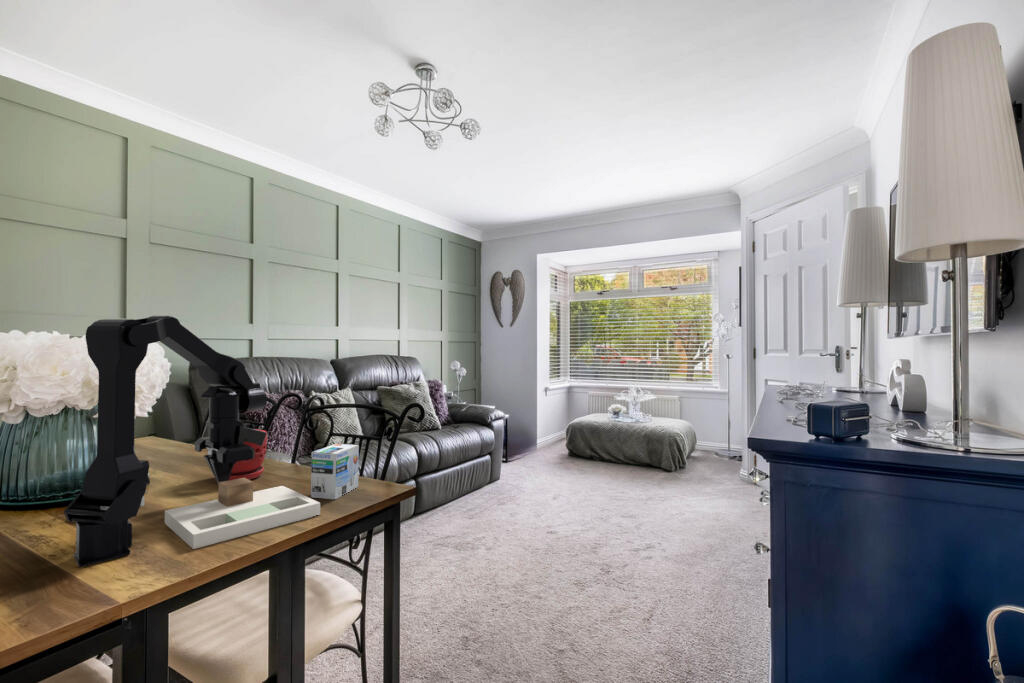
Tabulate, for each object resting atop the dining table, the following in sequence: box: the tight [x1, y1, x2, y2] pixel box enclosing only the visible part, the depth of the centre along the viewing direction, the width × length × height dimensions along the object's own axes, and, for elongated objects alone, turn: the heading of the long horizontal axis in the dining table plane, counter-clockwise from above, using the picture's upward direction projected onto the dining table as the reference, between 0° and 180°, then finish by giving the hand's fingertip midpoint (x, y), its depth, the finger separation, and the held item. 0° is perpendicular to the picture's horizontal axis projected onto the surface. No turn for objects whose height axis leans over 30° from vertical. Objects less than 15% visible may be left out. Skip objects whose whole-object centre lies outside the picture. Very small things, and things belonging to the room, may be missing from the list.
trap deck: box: [164, 485, 321, 550], centre depth 98 cm, size 23×18×2 cm
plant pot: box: [229, 428, 268, 481], centre depth 127 cm, size 13×13×12 cm
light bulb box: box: [310, 443, 360, 500], centre depth 116 cm, size 11×7×11 cm, turn 168°
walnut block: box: [217, 478, 254, 507], centre depth 101 cm, size 5×5×4 cm
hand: (223, 487), depth 106 cm, fingers closed
